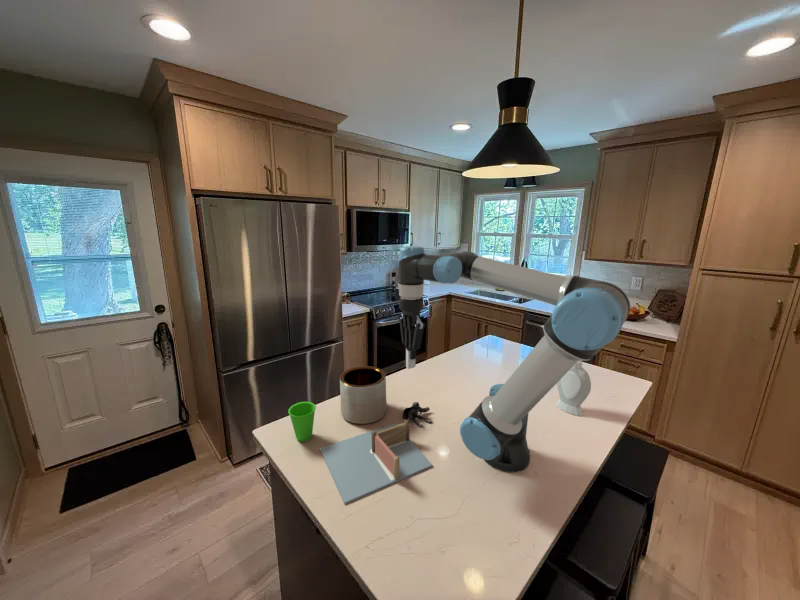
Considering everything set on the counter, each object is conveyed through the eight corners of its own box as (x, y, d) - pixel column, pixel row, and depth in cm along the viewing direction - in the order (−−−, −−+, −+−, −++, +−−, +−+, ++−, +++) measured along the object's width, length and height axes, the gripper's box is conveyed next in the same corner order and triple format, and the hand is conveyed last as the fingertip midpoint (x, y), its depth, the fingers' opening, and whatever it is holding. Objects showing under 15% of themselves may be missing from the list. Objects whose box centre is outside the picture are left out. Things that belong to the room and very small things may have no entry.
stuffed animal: (413, 429, 114) (399, 399, 121) (405, 439, 121) (393, 410, 128) (440, 419, 120) (426, 391, 126) (431, 430, 126) (418, 402, 133)
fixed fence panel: (410, 441, 109) (410, 421, 107) (373, 455, 102) (372, 434, 101) (407, 438, 110) (408, 419, 109) (371, 452, 104) (370, 431, 102)
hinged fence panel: (374, 453, 102) (373, 435, 100) (378, 451, 102) (378, 433, 101) (395, 480, 91) (395, 460, 90) (400, 477, 92) (400, 458, 90)
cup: (289, 448, 106) (287, 418, 103) (291, 431, 114) (288, 403, 112) (318, 443, 108) (316, 414, 106) (317, 427, 117) (315, 400, 114)
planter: (390, 422, 119) (389, 384, 116) (341, 428, 116) (339, 389, 112) (382, 398, 136) (382, 363, 132) (340, 402, 133) (338, 367, 129)
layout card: (432, 466, 98) (432, 464, 98) (344, 504, 85) (344, 502, 84) (395, 424, 118) (395, 422, 118) (319, 449, 105) (319, 447, 105)
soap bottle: (591, 412, 125) (601, 354, 120) (583, 420, 121) (592, 360, 115) (558, 399, 135) (565, 344, 130) (549, 405, 131) (556, 349, 125)
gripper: (433, 299, 96) (431, 372, 101) (410, 291, 107) (410, 357, 112) (411, 302, 92) (411, 377, 98) (390, 294, 103) (391, 362, 109)
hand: (410, 367), depth 105 cm, fingers closed
